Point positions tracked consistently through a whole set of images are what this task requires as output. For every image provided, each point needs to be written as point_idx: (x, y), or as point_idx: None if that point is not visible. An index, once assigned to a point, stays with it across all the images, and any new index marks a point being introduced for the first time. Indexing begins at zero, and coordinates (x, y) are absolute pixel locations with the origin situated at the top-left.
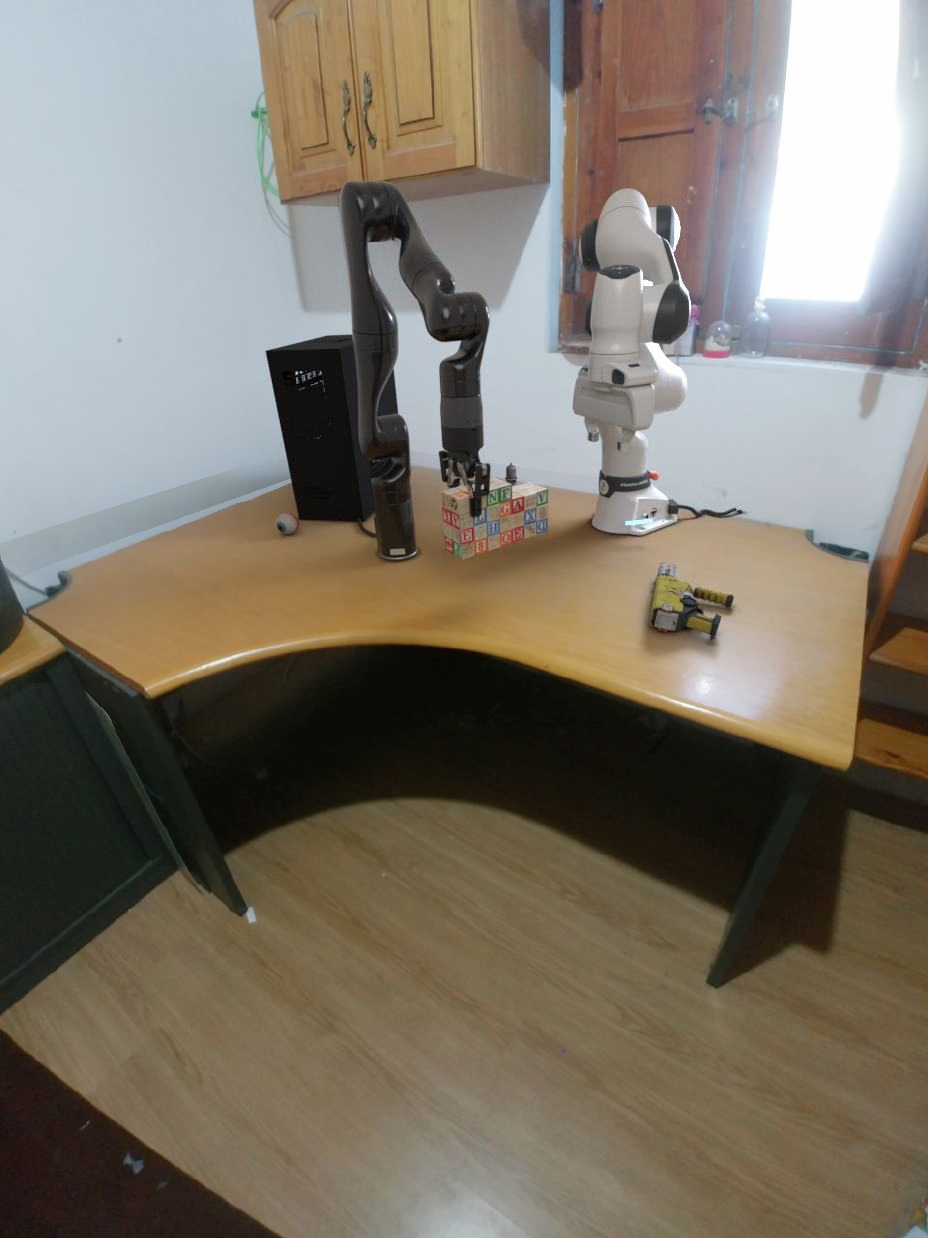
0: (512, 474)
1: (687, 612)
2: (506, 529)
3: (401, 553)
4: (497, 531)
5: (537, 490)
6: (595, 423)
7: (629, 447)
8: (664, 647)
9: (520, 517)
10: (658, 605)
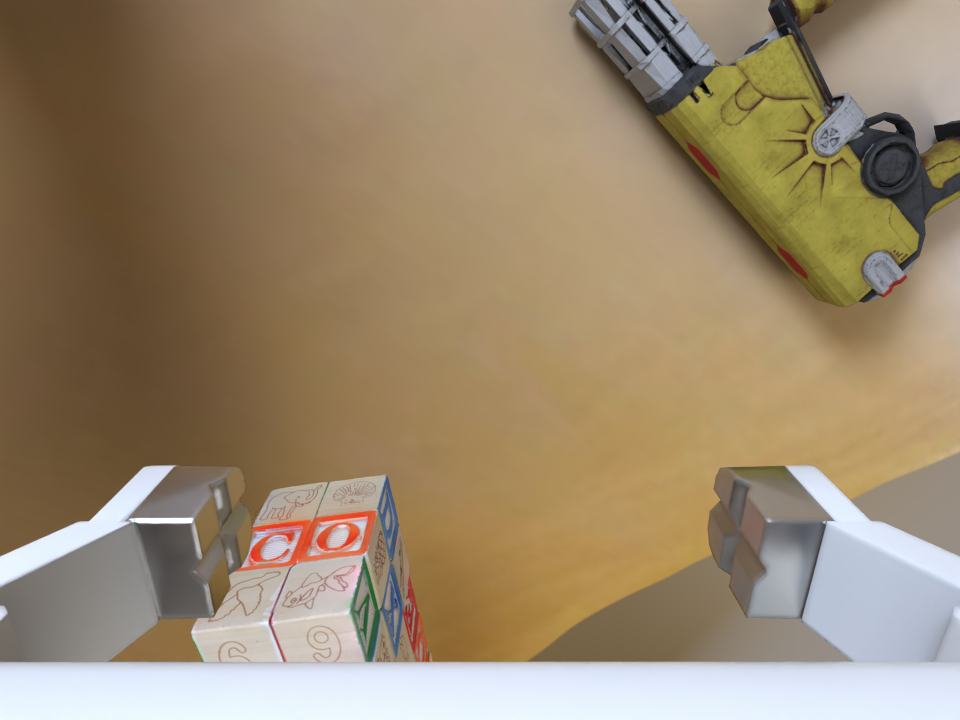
0: None
1: (921, 216)
2: None
3: None
4: None
5: (346, 657)
6: (6, 586)
7: (828, 480)
8: (878, 302)
9: (401, 655)
10: (856, 289)
